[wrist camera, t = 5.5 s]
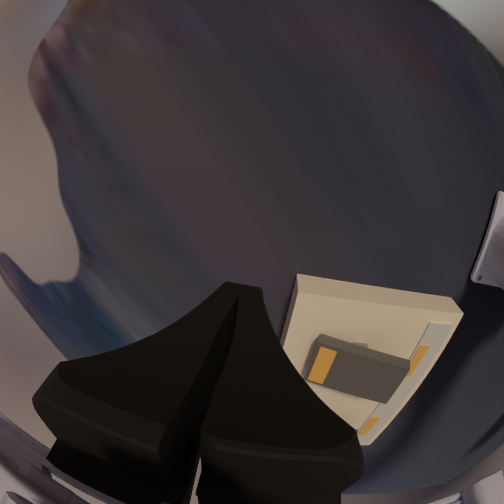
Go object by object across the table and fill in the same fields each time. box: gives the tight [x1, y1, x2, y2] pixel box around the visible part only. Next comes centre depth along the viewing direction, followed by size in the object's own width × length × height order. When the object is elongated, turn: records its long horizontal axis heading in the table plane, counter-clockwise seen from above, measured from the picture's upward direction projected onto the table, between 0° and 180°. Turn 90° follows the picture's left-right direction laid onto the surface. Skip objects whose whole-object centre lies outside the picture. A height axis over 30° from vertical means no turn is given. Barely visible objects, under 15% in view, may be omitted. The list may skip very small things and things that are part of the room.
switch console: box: [280, 274, 464, 445], centre depth 22 cm, size 14×20×3 cm
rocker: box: [303, 334, 410, 404], centre depth 18 cm, size 7×4×1 cm, turn 81°
